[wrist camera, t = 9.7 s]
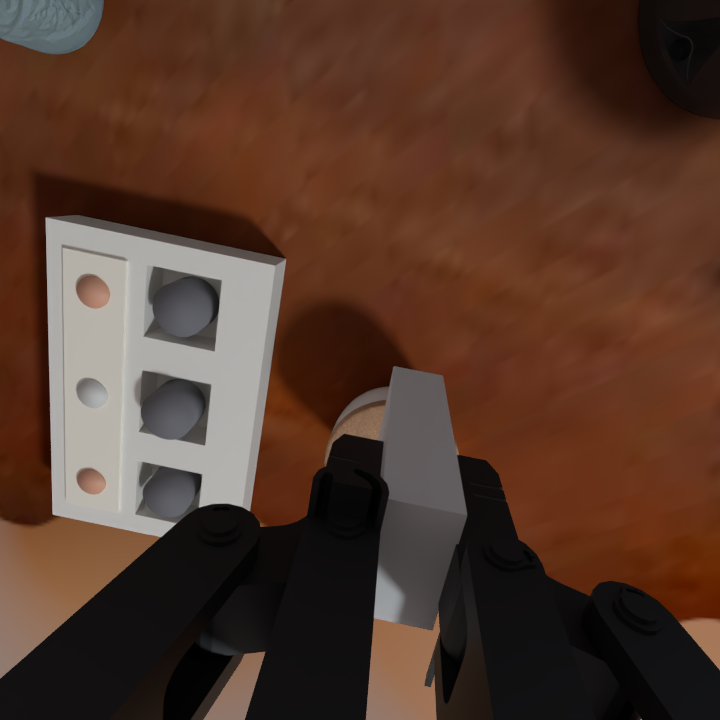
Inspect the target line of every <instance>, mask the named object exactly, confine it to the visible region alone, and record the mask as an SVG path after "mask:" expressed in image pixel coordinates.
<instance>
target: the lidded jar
mask: <svg viewBox="0 0 720 720" xmlns="http://www.w3.org/2000/svg"><path fill="white" fill-rule="evenodd" d="M388 390H389V387H381V388H376V389H373V390H370V391H367V392H365V393H363V394H361V395H360V396H358V397H357V398H356V399H354V400H353V401H352V402H351V403H350V404H349V405H348V406H347V407H346V408H345V409H344V411H343V412H342V414H341V415H340V416H339V418H338V420H337V422H336V424H335V426H334V428H333V431H332V434H331V436H330V438H329V440H328V444H327V447H326V451H325V460H324V464H325V467H326V463H327V460H328V457H329V453H330V450H331V447H332V443H333V442H334V441H335V440H337V439H338V438H339V437H340V436H342V435H343V434H349V435H354V436H359V437H364V438H369V439H374V440H378V438H379V433H380V429H381V424H382V419H383V414H384V410H385V405H386V400H387V395H388ZM454 442H455V439H454ZM455 448H456V453H457V455H459V452H458V447H457V444H456V442H455Z"/></svg>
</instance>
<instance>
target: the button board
mask: <svg viewBox="0 0 720 720" xmlns="http://www.w3.org/2000/svg"><path fill="white" fill-rule="evenodd" d="M46 255H47V297H48V339H49V380H50V422H51V464H52V505H53V515H58V516H62V517H68V518H72V519H77V520H82V521H87V522H91V523H96V524H101V525H106V526H111V527H115V528H120V529H125V530H130V531H135V532H139V533H144V534H149V535H154V536H159V537H162V536H163V535H164V534H165V533H166V532H168V531H169V530H170V529H171V528H172V527H173V526H174V525H176V524H177V523H178V522H179V521H180V520H181V519H182V518H183V517H185V516H186V515H187V514H189V513H191V512H192V511H194V510H195V509H197V508H199V507H203V506H207V505H210V504H232V505H236V506H240V507H243V508H245V509H246V510H248V511H250V507H251V500H252V493H253V486H254V479H255V472H256V466H257V459H258V452H259V445H260V438H261V431H262V424H263V417H264V410H265V403H266V396H267V389H268V382H269V375H270V369H271V362H272V355H273V348H274V341H275V334H276V327H277V320H278V313H279V306H280V299H281V292H282V285H283V279H284V272H285V265H286V259H285V258H280V257H275V256H271V255H266V254H261V253H256V252H252V251H247V250H242V249H237V248H233V247H228V246H223V245H218V244H214V243H209V242H204V241H199V240H195V239H190V238H185V237H180V236H176V235H171V234H166V233H161V232H157V231H152V230H147V229H142V228H138V227H133V226H128V225H123V224H119V223H114V222H109V221H104V220H100V219H95V218H90V217H85V216H81V215H70V216H57V217H46ZM189 276H193V277H198V278H201V279H203V280H205V281H207V282H208V283H209V284H210V285H211V286H212V287H213V288H214V289H215V291H216V293H217V295H218V298H219V312H218V315H217V317H216V318H215V319H214V321H213V322H211V323H210V324H209V325H207V326H206V327H204V328H203V329H202V330H200V331H199V332H198V333H196V334H194V335H192V336H188V337H178V336H174V335H172V334H170V333H168V332H166V331H165V330H164V329H163V328H162V327H161V326H160V325H159V324H158V322H157V321H156V319H155V317H154V314H153V309H152V304H153V299H154V296H155V294H156V292H157V291H158V290H159V289H160V288H161V287H163V286H164V285H167V284H169V283H172V282H174V281H176V280H179V279H181V278H184V277H189ZM172 379H184V380H187V381H190V382H192V383H193V384H195V385H196V386H197V387H198V388H199V389H200V390H201V392H202V393H203V395H204V398H205V403H206V407H205V411H204V413H203V415H202V417H201V418H200V419H199V420H198V421H197V422H196V424H195V425H194V426H193V427H192V428H191V430H190V431H189V432H188V433H187V434H186V435H185V436H183V437H181V438H179V439H175V440H167V439H162V438H160V437H157V436H156V435H154V434H153V433H151V432H150V431H149V430H148V429H147V428H146V426H145V425H144V423H143V421H142V418H141V407H142V404H143V402H144V401H145V399H146V398H147V397H148V396H150V395H151V394H152V393H153V392H154V391H156V390H157V389H158V388H159V387H160V386H161V385H163V384H164V383H165V382H167V381H169V380H172ZM160 466H165V467H170V468H175V469H180V470H184V471H189V472H194V473H199V474H200V476H201V480H202V483H201V488H200V490H199V492H198V493H197V495H196V496H195V498H194V499H193V501H192V502H191V504H190V506H189V507H188V509H187V510H186V511H185V512H184V513H183V514H182V515H180V516H177V517H163V516H160V515H158V514H156V513H154V512H153V511H151V510H150V509H149V508H148V506H147V505H146V504H145V502H144V499H143V488H144V486H145V484H146V483H147V482H148V481H149V479H150V478H151V477H152V476H153V475H154V473H155V472H156V471H157V470H158V469H159V468H160Z"/></svg>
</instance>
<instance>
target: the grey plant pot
mask: <svg viewBox="0 0 720 720" xmlns="http://www.w3.org/2000/svg"><path fill="white" fill-rule="evenodd" d="M103 4H104V0H0V38H1V39H4V40H6V41H9V42H12V43H16V44H19V45H22V46H25V47H27V48H30V49H33V50H36V51H40V52H43V53H48V54H65V53H70V52H72V51H75V50H77V49H79V48H81V47H83V46H84V45H85V44H86V43H87V42H88V41H89V40H90V39H91V38H92V36H93V35H94V34H95V32H96V30H97V28H98V26H99V23H100V20H101V18H102V12H103Z"/></svg>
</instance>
